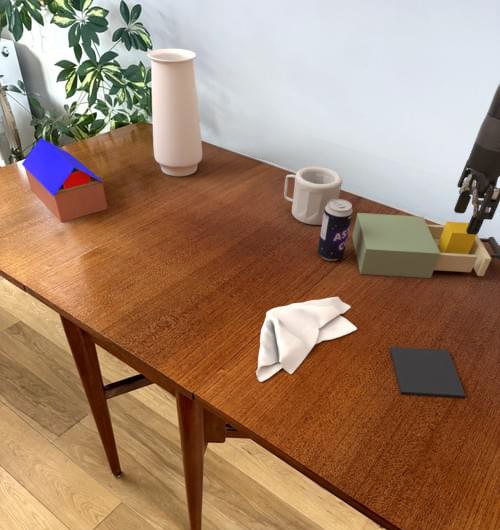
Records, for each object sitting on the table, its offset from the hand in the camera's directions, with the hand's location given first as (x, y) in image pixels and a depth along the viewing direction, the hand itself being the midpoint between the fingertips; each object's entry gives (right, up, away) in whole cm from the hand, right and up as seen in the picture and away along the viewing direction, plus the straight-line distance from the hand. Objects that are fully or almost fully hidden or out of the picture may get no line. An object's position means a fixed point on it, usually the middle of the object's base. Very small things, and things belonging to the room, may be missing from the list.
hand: (464, 222), depth 94 cm
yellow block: (-1, -5, +5) cm, 7 cm away
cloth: (-36, -23, -12) cm, 44 cm away
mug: (-30, +7, +19) cm, 36 cm away
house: (-89, +10, +19) cm, 91 cm away
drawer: (0, -6, +6) cm, 8 cm away
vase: (-64, +23, +35) cm, 76 cm away
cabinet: (-14, -6, +6) cm, 16 cm away
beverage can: (-27, -6, +6) cm, 28 cm away
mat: (-15, -29, -18) cm, 38 cm away
